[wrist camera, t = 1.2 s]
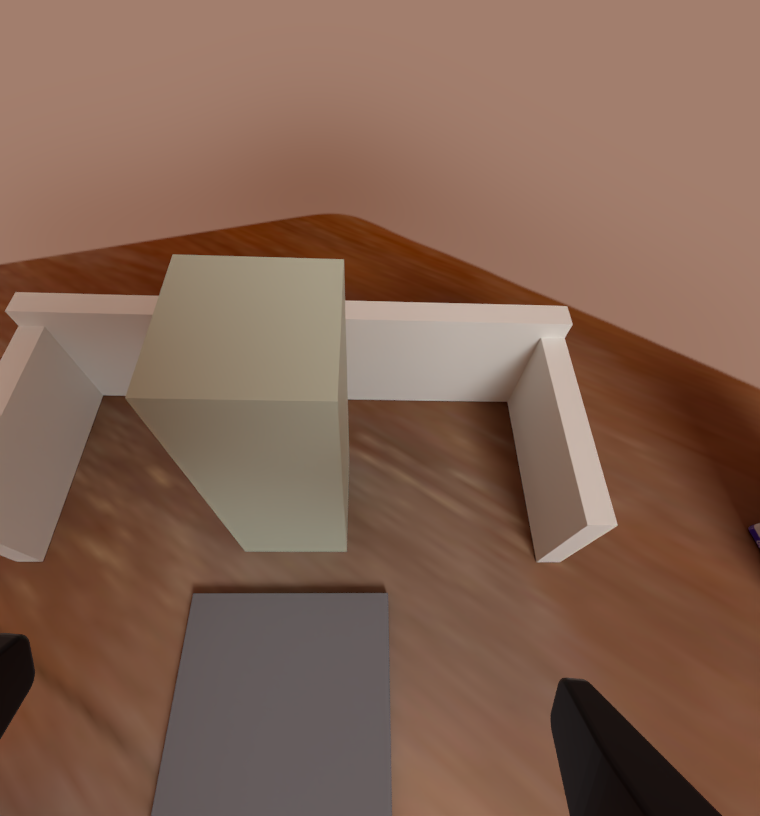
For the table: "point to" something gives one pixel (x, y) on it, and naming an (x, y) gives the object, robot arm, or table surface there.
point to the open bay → (366, 380)
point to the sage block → (254, 394)
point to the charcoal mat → (280, 708)
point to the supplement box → (755, 533)
